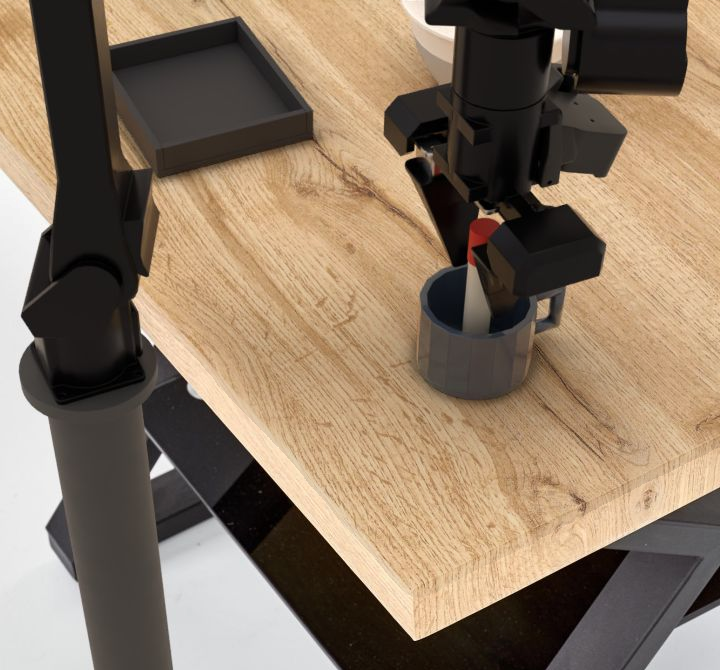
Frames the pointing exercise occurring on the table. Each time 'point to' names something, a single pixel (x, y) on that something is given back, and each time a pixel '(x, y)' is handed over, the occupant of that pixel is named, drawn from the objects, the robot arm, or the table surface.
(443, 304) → the mug
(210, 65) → the tray
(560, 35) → the bowl
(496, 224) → the marker
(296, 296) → the table surface
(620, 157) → the table surface
